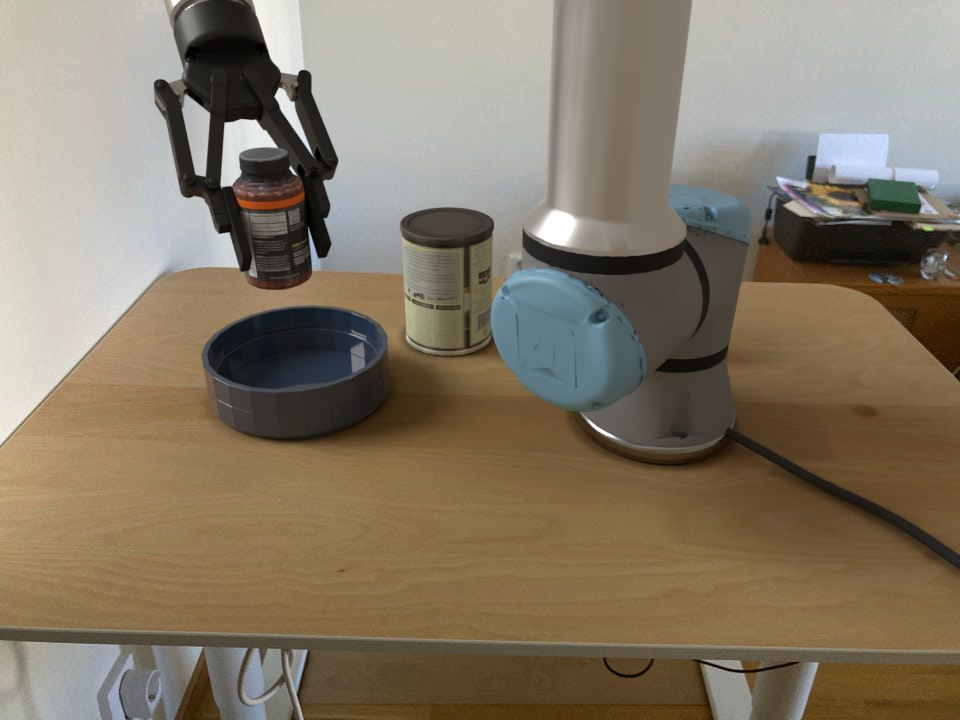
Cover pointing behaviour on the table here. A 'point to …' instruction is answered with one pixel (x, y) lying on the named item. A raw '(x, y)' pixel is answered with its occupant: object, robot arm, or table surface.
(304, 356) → the bowl
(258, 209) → the supplement bottle
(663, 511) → the table surface
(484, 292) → the coffee can
